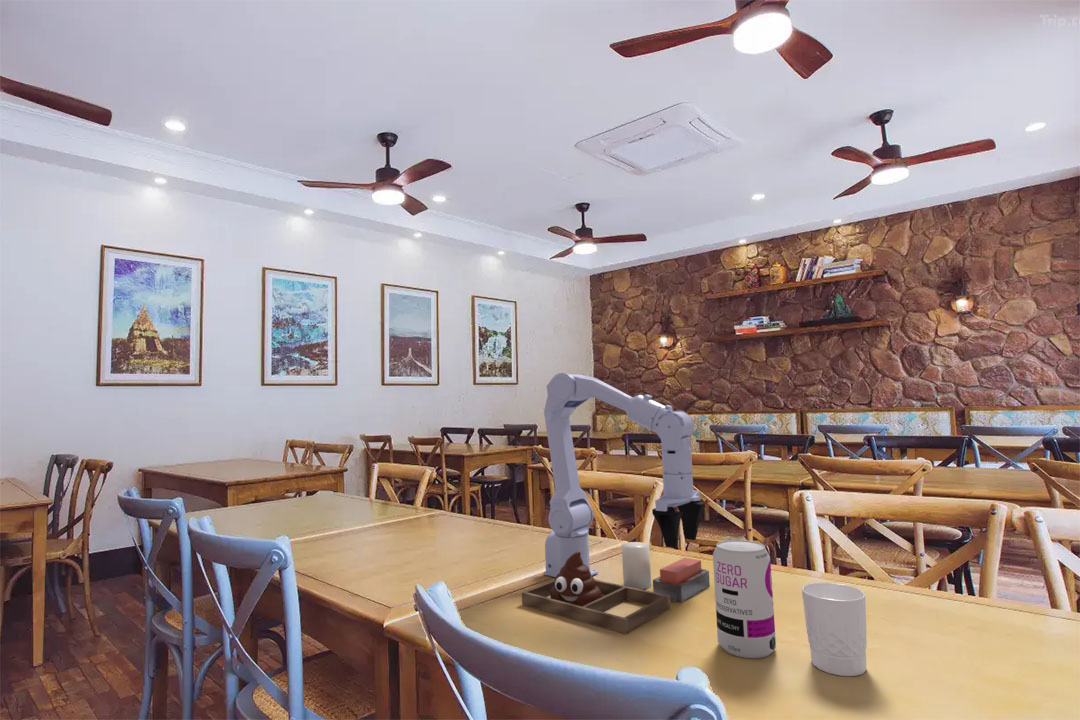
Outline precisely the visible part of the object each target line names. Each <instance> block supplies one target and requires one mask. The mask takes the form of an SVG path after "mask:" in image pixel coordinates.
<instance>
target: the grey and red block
mask: <svg viewBox="0 0 1080 720" xmlns="http://www.w3.org/2000/svg"><path fill="white" fill-rule="evenodd" d="M701 571H702V572H700V573H699V574H697V575H695V576H693V577H691V578H689V579H687V580H685V581H683V582H682V583H680V584H675V583H670V582H665V581H660V576H658V577H655V578H654V579H652V588H653V589H652V590H653V591H652V592H655V593H660V594H664V595H669V596H670V602H676V603H678V602H680V603H683V602H685V601H686V600H688V599H690V598H692V597H694V596H696V595H697V594H698V593H700V592H702V591H704V590H706V589H707V588H709V587H710V586H711V585H710V584H711V583H710V571H709V570H707V569H704V568H701Z"/></svg>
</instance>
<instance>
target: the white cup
mask: <svg viewBox="0 0 1080 720" xmlns="http://www.w3.org/2000/svg"><path fill="white" fill-rule="evenodd" d="M801 595H802V600H803V601H802V603H803V609H804V610H803V611H804V619H805V628H806V634H807V641H808V643H809V650H810V658H811V664H812V665H813V666H814V667H815V668H817V669H818V670H820V671H822V672H825V673H828V674H830V675H836V676H841V677H857V676H860V675H864V673H865V672H866V671H867V653H866V649H867V609H866V607H867V606H866V605H867V603H866V593H865V592H864V591H863V590H862V589H859V588H857V587H854V586H851V585H848V584H842V583H836V582H812V583H807V584H804V585H802V586H801Z"/></svg>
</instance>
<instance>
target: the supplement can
mask: <svg viewBox="0 0 1080 720" xmlns="http://www.w3.org/2000/svg"><path fill="white" fill-rule="evenodd" d="M712 562H713V563H712V564H713V579H714V580H713V581H714V597H715V600H714V601H715V613H716V614H715V615H716V630H717V631H716V633H717V643H718V644H719V646H720V647H721V648H722V649H723V650H724V651H725V652H726V653H728V654H730V655H733V656H735V657H738V658H745V659H763V658H766V657H769V656H771V654H772V653H773V652H774V651H775V650H776V649H777V642H776V641H777V640H776V624H775V609H774V595H773V579H772V566H771V565H772V564H771V556H770V554H769V552H768V551H767V548H766V545H765V544H763V543H761V542H758V541H751V540H747V541H745V540H727V541H724V540H721V541H719V542H717V543H716V547H715V548H714V551H713V553H712Z"/></svg>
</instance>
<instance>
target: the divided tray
mask: <svg viewBox="0 0 1080 720" xmlns="http://www.w3.org/2000/svg"><path fill="white" fill-rule="evenodd" d="M554 580H555V579H553V580H551V581H548V582H545V583H543V584H541V585H538V586H535V587H532V588H530V589H528V590H527V589H526V590H525V591H523V592H521V605H522V606H525V607H526V606H527V607H528V608H533V609H537V610H539V611H540V610H541V611H542V612H543V611H544V612H548V613H550V614H553V615H554V614H555V615H558V616H562V617H565V618H569V619H572V620H575V621H580V622H583V623H587V624H589V625H593V626H597V627H600V628H604V629H607V630H610V631H614V632H617V633H622V634H625V635H627V634H629V633H631V632H632V631H633V630H635V629H637V628H639V627H640V626H642V625H644V624H646V623H647V622H649V621H650V620H653V619H654V618H655V617H657V616H659V615H661V614H663V613H665V612H666V611H668V610H670V609H671V601H670V596H669V595H664V594H660V593H655V592H653V591H650V590H647V589H643V590H641V589H637V588H632V587H627V586H624V584H617V583H614V582H613V583H612V582H609V581H603V580H600V579H595V578H594V580H595V583H596V586H597V587H598V588H599V589H600V591H601V593H602V597H601V598H599V599H597V600H595V601H593V602H590V603H588V604H586V605H584V606H578V605H574V604H570V603H566V602H562V601H559V600H555V599H551V598H550V591H551V589H552V587H553V586H554ZM625 601H631V602H636V603H639V604H644V606H643V607H641V608H640V609H637V610H635V611H634V612H631V613H630V614H628V615H626V616H620V615H615V614H612V613H608V612H605V611H607V610H609V609H611V608H613V607H616V606H618V605H619V604H622V603H623V602H625Z"/></svg>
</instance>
